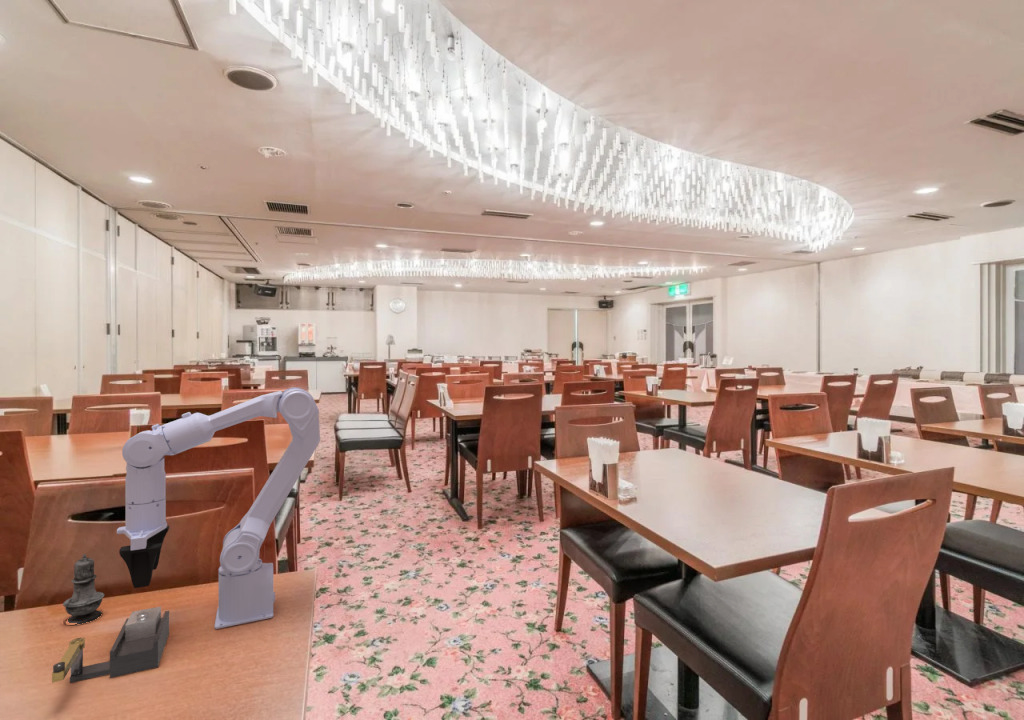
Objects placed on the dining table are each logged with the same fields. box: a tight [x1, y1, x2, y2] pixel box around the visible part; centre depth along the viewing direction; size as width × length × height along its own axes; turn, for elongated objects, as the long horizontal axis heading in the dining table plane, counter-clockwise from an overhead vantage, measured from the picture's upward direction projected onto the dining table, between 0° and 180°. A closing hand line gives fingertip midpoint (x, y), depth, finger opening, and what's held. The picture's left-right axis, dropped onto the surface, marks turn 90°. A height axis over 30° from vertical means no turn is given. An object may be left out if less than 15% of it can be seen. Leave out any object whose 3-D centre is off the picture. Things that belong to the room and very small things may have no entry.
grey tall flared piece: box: [62, 553, 105, 625], centre depth 94 cm, size 6×6×12 cm
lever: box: [51, 637, 86, 683], centre depth 72 cm, size 10×2×2 cm, turn 28°
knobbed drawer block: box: [125, 606, 162, 642], centre depth 83 cm, size 4×5×3 cm
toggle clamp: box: [69, 610, 170, 684], centre depth 81 cm, size 11×11×4 cm
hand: (145, 577), depth 88 cm, fingers open, 7 cm apart
